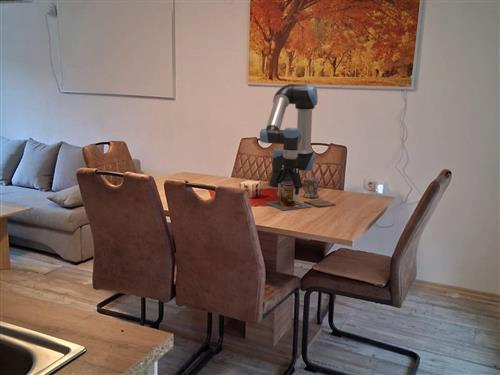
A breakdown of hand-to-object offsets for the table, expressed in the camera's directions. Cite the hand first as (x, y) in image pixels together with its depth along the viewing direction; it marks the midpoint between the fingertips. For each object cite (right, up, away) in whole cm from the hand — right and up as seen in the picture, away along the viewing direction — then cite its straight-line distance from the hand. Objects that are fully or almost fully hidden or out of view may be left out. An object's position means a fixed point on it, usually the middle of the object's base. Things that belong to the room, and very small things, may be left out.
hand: (287, 197), depth 247 cm
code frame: (0, -4, +1) cm, 4 cm away
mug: (+14, 0, +23) cm, 27 cm away
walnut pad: (+18, -4, +6) cm, 19 cm away
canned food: (0, -4, +1) cm, 4 cm away
